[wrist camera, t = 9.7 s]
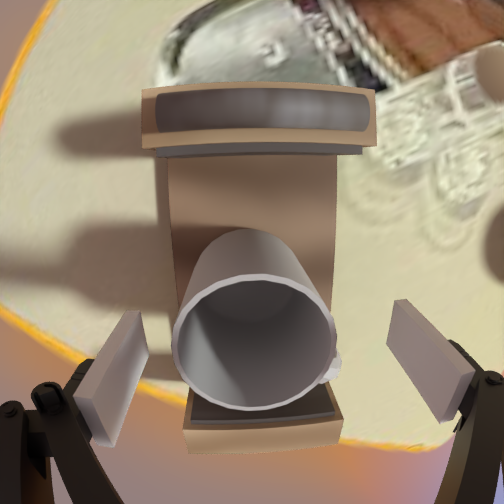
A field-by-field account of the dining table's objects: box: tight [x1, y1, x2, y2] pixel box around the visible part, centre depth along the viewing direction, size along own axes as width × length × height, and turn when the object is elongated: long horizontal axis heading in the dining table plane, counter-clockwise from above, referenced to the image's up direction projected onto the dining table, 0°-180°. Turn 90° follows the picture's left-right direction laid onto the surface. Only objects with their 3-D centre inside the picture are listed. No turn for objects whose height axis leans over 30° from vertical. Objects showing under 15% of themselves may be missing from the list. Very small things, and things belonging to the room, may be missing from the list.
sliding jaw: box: [142, 82, 377, 158], centre depth 15 cm, size 3×10×9 cm, turn 91°
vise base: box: [167, 155, 344, 454], centre depth 18 cm, size 22×11×8 cm, turn 1°
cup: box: [171, 229, 342, 411], centre depth 18 cm, size 7×10×9 cm
